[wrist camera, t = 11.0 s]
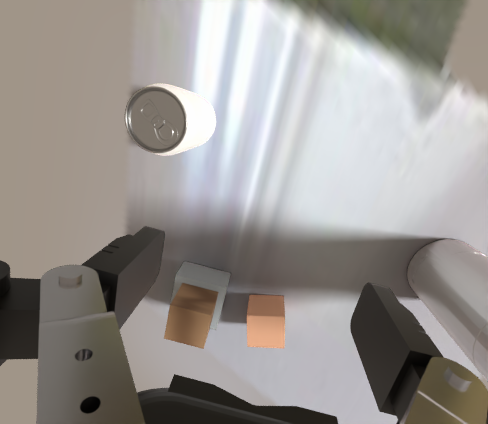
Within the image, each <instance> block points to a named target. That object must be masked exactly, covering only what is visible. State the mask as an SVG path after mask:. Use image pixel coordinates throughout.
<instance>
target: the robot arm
mask: <svg viewBox="0 0 488 424" xmlns="http://www.w3.org/2000/svg"><path fill="white" fill-rule="evenodd" d="M164 239H165V232H164V231H162V230H158V229H154V228H150V227H146V226H145V227H143V228H142V229H141V230H140V231H139V232H137V233H136V234H135V235H134V236H132V235H126V236H123V237H120V238H117V239H115V240H114V241H112V242H111V243H110V244H109V245H108V246H106V247H104V248H103V249H102V251H99V252H98V253H97V254H95V255H94V256H93V257H91V258H90V259H89V260H87V261H86V262H85V263H83V264H82V265H65V266H60V267H57V268H54V269H51V270H49V271H47V272H46V273H45V274H44V275H43V276H42V278H41V279H23V278H10V267H9V265H8V264H7V263H5V262H3V261H0V366H1V365H2V364H3V363H4V362H5V361H6V360H7V359H38V384H37V385H38V387H37V388H38V389H37V421H36V423H37V424H338V421H337V417H335V416H331V415H328V414H324V413H320V412H316V411H312V410H309V409H305V408H301V407H297V406H255V405H252V404H250V403H248V402H246V401H244V400H242V399H240V398H238V397H236V396H234V395H232V394H231V393H229V392H227V391H225V390H223V389H221V388H219V387H217V386H215V385H213V384H209V383H205V382H201V381H198V380H194V379H190V378H186V377H182V376H179V375H175V374H174V377H173V379H172V382H171V384H170V387H169V388H158V389H150V390H145V391H141V392H138V393H137V392H136V388H135V384H134V381H133V377H132V373H131V370H130V366H129V363H128V359H127V356H126V352H125V348H124V345H123V341H122V337H121V334H120V328H121V327H122V326H123V324H124V323H125V321H126V320H127V319H128V317H129V316H130V315H131V313H132V312H133V311H134V309H135V308H136V306H137V305H138V304H139V302H140V301H141V300H142V298H143V297H144V296H145V294H146V293H147V292H148V290H149V289H150V287H151V286H152V285H153V283H154V282H155V280H156V278H157V276H158V273H159V270H160V265H161V258H162V252H163V245H164ZM407 278H408V282H409V284H410V287H411V288H412V289H413V291H414V292H415V293H416V294H417V295H418V297H419V298H420V299H421V300H422V302H423V303H424V304H425V306H426V307H427V308H428V309H429V311H430V312H431V313H432V314H433V316H434V317H435V318H436V319H437V320H438V322H439V323H440V324H441V325H442V327H443V328H444V329H445V330H446V331H447V333H448V334H449V335H450V336H451V338H452V339H453V340H454V341H455V343H456V344H457V345H458V346H459V347H460V349H461V350H462V351H463V352H464V354H465V355H466V356H467V357H468V358H469V360H470V361H471V362H472V363H473V365H474V366H475V367H476V368H477V370H478V371H479V372H480V373H481V374H482V375H483V377H484V378H485V379H486V380H487V382H488V257H487V256H486V255H484V254H483V253H481V252H480V251H478V250H476V249H475V248H473V247H472V246H470V245H469V244H467V243H465V242H462V241H459V240H453V239H445V240H439V241H435V242H432V243H430V244H428V245H426V246H424V247H423V248H422V249H420V250H419V251H418V252H417V253H416V254H415V255H414V256H413V258H412V260H411V261H410V263H409V266H408V271H407ZM351 333H352V336H353V339H354V342H355V345H356V347H357V350H358V353H359V356H360V358H361V361H362V364H363V367H364V369H365V372H366V375H367V378H368V381H369V383H370V386H371V389H372V392H373V394H374V397H375V400H376V403H377V406H378V408H379V411H380V412H384V413H388V414H392V415H395V416H397V418H398V421H397V423H396V424H488V390H487V388H486V386H485V385H484V384H483V382H482V381H481V380H480V379H479V378H478V377H477V376H476V375H475V374H473V373H472V372H471V371H470V370H468V369H467V368H465V367H464V366H462V365H460V364H459V363H457V362H455V361H452V360H450V359H447V358H444V357H443V356H442V354H441V353H440V351H439V350H438V349H437V347H436V346H435V344H434V343H433V342H432V340H431V339H430V337H429V336H428V335H427V334H426V332H425V330H424V329H423V327H422V326H420V323H419V322H418V320H417V319H416V318H415V316H414V315H413V314H412V313H411V312H410V311H409V310H408V309H407V308H406V307H404V306H403V305H402V304H400V303H399V301H398V300H397V298H396V297H395V295H394V294H393V292H392V291H391V289H390V288H388V287H385V286H381V285H377V284H373V283H367V284H366V285H365V286H364V288H363V290H362V293H361V295H360V298H359V300H358V303H357V305H356V308H355V310H354V313H353V315H352V318H351Z"/></svg>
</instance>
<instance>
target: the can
mask: <svg viewBox="0 0 488 424" xmlns="http://www.w3.org/2000/svg"><path fill="white" fill-rule="evenodd" d="M125 124H126V128H127V131H128V133H129V135H130V137H131V138H132V139H133V141H134V142H135V143H136V144H137V145H138V146H139V147H141V148H142V149H144V150H146V151H149V152H151V153H153V154H157V155H162V156H168V155H174V154H178V153H181V152H184V151H187V150H189V149H192V148H195V147H198V146H200V145H202V144H204V143H205V142H207V141H208V140H209V139H210V137H211V136H212V134H213V133H214V130H215V126H216V116H215V112H214V109H213V107H212V106H211V104H210V103H209V102H208V101H207V100H206V99H205V98H204V97H202V96H201V95H199V94H196V93H193V92H191V91H188V90H185V89H182V88H179V87H176V86H172V85H168V84H162V83H158V84H151V85H148V86H146V87H144V88H142V89H140V90H138V91H137V92H136V93H135V94H134V95H133V96H132V97H131V98H130V100H129V101H128V103H127V106H126V110H125Z"/></svg>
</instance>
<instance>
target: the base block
mask: <svg viewBox="0 0 488 424" xmlns="http://www.w3.org/2000/svg"><path fill="white" fill-rule="evenodd" d="M230 275H231V273H229V272H225V271H221V270H217V269H213V268H209V267H205V266H202V265H198V264H194V263H190V262H186V261H184V262H183V264H182V266H181V267H180V269H179V270H178V272H177V274H176V276H175V282H174V287H173V293H172V298H171V302H172V301H173V299H174V297H175V295H176V293H177V292H178V290H179V288H180V286H181V285H182V283H186V284H190V285H194V286H197V287H201V288H205V289H209V290H213V291H217V292H219V293H218V297H217V301H216V306H215V310H214V314H213V318H212V322H211V326H210V329H213V330H216V329H217V326H218V322H219V318H220V314H221V311H222V307H223V303H224V299H225V295H226V291H227V287H228V283H229V279H230ZM170 304H171V303H170Z"/></svg>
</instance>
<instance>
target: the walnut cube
mask: <svg viewBox="0 0 488 424" xmlns="http://www.w3.org/2000/svg"><path fill="white" fill-rule="evenodd" d="M218 293H219V292H217V291H213V290H209V289H205V288H201V287H197V286H194V285H190V284H186V283H182V285H181V286H180V288H179V290H178V292H177V293H176V295H175V297H174V299H173V301H172V302H171V304H170V309H169V314H168V320H167V325H166V331H165V336H164V338H165V339H168V340H172V341H176V342H180V343H184V344H187V345H191V346H195V347H199V348H202V349H204V345H205V342H206V339H207V335H208V332H209V329H210V326H211V322H212V318H213V314H214V310H215V306H216V301H217V297H218Z"/></svg>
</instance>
